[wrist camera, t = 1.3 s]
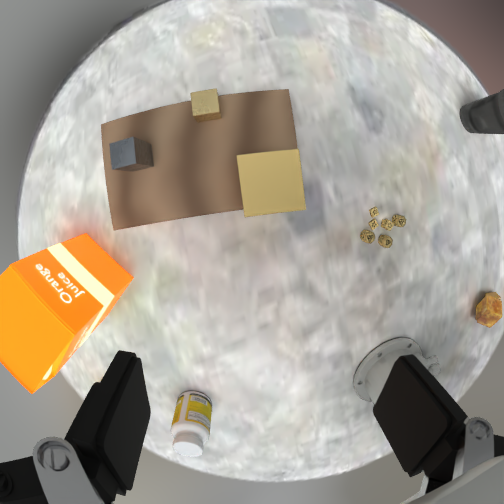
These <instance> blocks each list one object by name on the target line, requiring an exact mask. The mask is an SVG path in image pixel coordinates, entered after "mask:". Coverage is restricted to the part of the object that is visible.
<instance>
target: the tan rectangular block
mask: <svg viewBox="0 0 504 504" xmlns="http://www.w3.org/2000/svg"><path fill="white" fill-rule="evenodd" d="M237 163H238V170H239V178H240V185H241V193H242V201H243V208H244V216H245V217H250V216H258V215H266V214H274V213H282V212H290V211H299V210H306V206H305V197H304V188H303V179H302V171H301V163H300V155H299V149H293V150H281V151H271V152H261V153H252V154H244V155H237Z"/></svg>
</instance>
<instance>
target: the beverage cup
mask: <svg viewBox="0 0 504 504" xmlns="http://www.w3.org/2000/svg"><path fill="white" fill-rule="evenodd" d="M460 118H461V121H462V124H463V126H464V127H465V129H466V130H467V131H468V132H470V133H484V134H504V89H503V90H501V91H500V92H499V93H496V94H493V95H490V96H488V97H485V98H482V99H480V100H477V101H474V102H472V103H469V104H467V105H465V106H463V107H462V108H461V110H460Z"/></svg>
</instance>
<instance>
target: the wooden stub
mask: <svg viewBox="0 0 504 504" xmlns="http://www.w3.org/2000/svg"><path fill="white" fill-rule="evenodd" d="M191 102H192V112H193V117H194V118H195V120H196V121H197V123H199V122H205V121H211V120H217V119H221V111H220V103H219V96H218V92H217V89H210V90H204V91H198V92H193V93H191Z"/></svg>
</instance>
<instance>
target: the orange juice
mask: <svg viewBox="0 0 504 504" xmlns="http://www.w3.org/2000/svg"><path fill="white" fill-rule="evenodd" d="M132 279H133V277H132V276H131V275H130V274H129V273H128V272H126V271H125V270H124V269H123V268H122V267H121V266H120V265H119V264H118V263H117V262H115V261H114V260H113V259H112V258H111V257H110V256H109V255H108V254H107V253H106V252H105V251H104V250H103V249H102V248H101V247H100V246H99V245H97V244H96V243H95V242H94V241H93V240H92V239H91V238H90V237H89V236H88V235H87V234H86V233H85V234H83V235H80V236H77V237H75V238H72V239H70V240H67V241H65V242H62V243H58V244H56V245H53V246H51V247H48V248H47V249H45V250H42V251H40V252H37V253H35V254H33V255H30V256H28V257H26V258H24V259H21V260H19V261H17V262H15V263H13V264H10V266H9V267H8V268H7V269H6V271H5V272H4V273H3V274H2V275H1V276H0V362H1V363H2V364H3V365H4V366H5V367H6V368H7V370H8V371H9V372H10V373H11V374H12V375H13V376H14V377H15V378H16V379H17V380H18V381H19V382H20V383H21V384H22V385H23V386H24V387H25V388H26V389H27V390H28V391H29V392H30V393H31V394H33V393H34V392H35V391H36V390H37V389H39V388H40V387H41V386H42V385H43V384H45V383H46V382H47V381H49V380H50V379H51V378H52V377H54V376H55V375H56V374H57V372H58V371H59V370H60V369H61V368H62V366H63V365H64V364H65V363H66V362H67V360H68V359H69V358H70V357H71V356H72V355H73V353H74V352H75V351H76V350H77V349H78V348H79V347H80V346H81V345H82V344H83V342H84V341H85V340H86V339H87V338H88V337H89V335H90V334H91V333H92V332H93V331H94V329H95V328H96V327H97V326H98V325H99V324H100V323H101V322H102V321H103V320H104V318H105V317H106V316H107V315H108V314H109V312H110V311H111V309H112V308H113V306H114V305H115V303H116V302H117V300H118V299H119V298H120V296H121V295H122V293H123V292H124V290H125V289H126V288H127V286H128V285H129V283H130V282H131V281H132Z"/></svg>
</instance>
